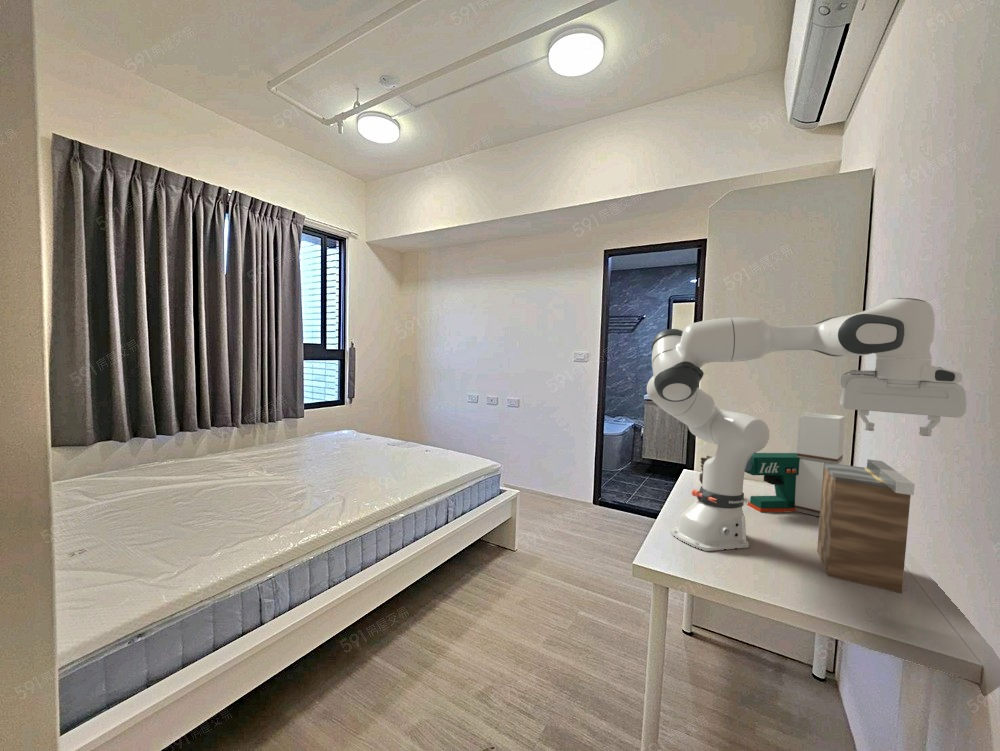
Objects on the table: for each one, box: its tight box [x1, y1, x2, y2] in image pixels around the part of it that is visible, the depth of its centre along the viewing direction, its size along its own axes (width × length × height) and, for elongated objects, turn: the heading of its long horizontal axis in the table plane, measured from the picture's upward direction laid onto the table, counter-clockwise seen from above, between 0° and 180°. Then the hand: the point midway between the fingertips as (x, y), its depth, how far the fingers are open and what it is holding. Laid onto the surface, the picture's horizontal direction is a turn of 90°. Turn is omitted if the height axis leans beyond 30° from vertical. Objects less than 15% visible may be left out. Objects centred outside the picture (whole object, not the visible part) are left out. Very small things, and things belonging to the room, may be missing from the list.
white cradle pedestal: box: [795, 412, 846, 518], centre depth 147 cm, size 11×11×35 cm
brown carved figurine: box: [699, 455, 713, 485], centre depth 167 cm, size 6×6×15 cm
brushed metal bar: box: [866, 459, 916, 496], centre depth 101 cm, size 23×3×2 cm, turn 150°
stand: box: [816, 463, 912, 594], centre depth 108 cm, size 16×14×26 cm
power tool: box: [744, 452, 800, 513], centre depth 150 cm, size 32×7×20 cm, turn 96°
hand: (896, 432), depth 92 cm, fingers open, 8 cm apart
